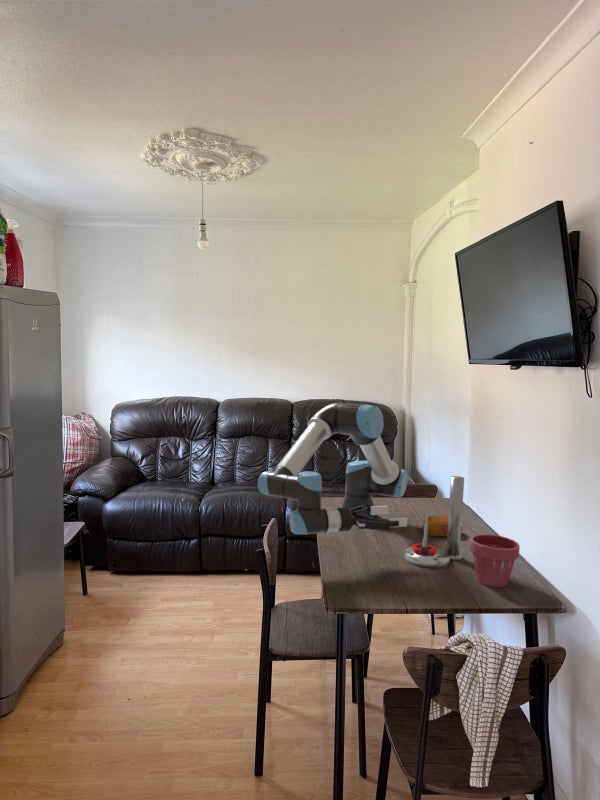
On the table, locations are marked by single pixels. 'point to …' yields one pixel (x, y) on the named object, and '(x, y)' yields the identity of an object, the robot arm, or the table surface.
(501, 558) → the plant pot
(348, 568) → the table surface
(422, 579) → the table surface
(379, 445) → the robot arm
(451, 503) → the paper towel holder
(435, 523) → the croissant
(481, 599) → the table surface
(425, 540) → the tow hook
